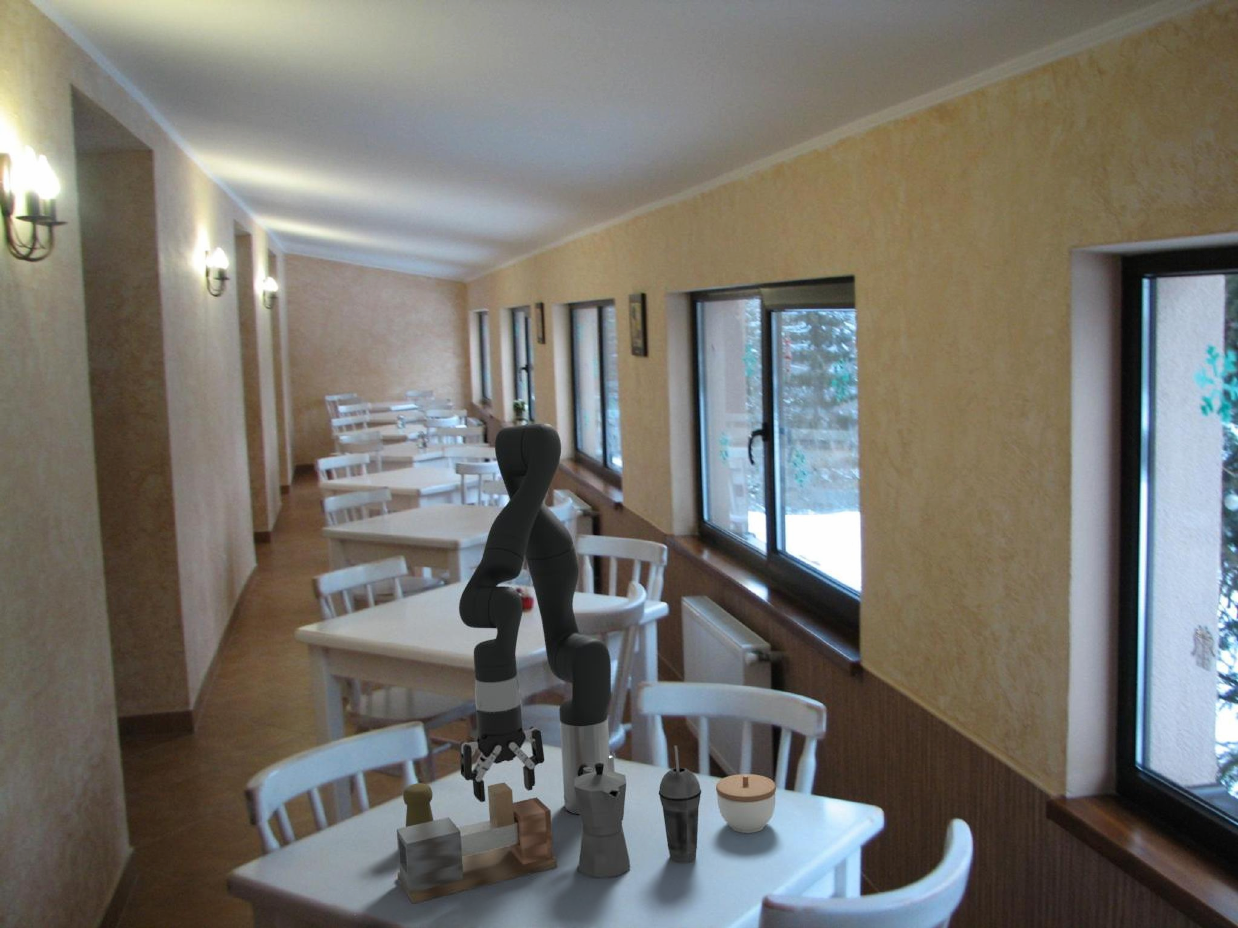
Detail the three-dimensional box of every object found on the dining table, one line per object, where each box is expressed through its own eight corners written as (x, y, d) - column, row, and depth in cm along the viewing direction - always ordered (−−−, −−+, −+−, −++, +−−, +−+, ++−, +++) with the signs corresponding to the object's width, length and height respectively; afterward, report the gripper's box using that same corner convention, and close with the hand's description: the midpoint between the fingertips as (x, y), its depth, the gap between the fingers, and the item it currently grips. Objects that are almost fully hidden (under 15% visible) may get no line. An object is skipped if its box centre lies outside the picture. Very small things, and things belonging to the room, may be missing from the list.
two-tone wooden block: (533, 829, 194) (529, 776, 193) (541, 838, 190) (538, 784, 189) (440, 851, 187) (436, 796, 186) (447, 860, 183) (443, 804, 182)
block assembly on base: (536, 844, 198) (533, 793, 197) (557, 866, 189) (554, 813, 188) (397, 878, 187) (394, 825, 186) (413, 903, 178) (409, 847, 177)
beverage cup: (708, 849, 192) (704, 737, 190) (698, 868, 185) (692, 752, 183) (668, 845, 194) (663, 735, 193) (656, 864, 188) (650, 749, 186)
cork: (431, 852, 197) (426, 792, 196) (399, 851, 198) (394, 791, 197) (443, 837, 202) (439, 779, 201) (411, 836, 204) (407, 778, 203)
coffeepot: (646, 875, 184) (641, 770, 182) (594, 888, 180) (588, 781, 178) (608, 840, 198) (603, 742, 196) (559, 852, 194) (553, 752, 192)
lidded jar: (750, 808, 208) (748, 760, 208) (789, 827, 200) (787, 776, 199) (705, 824, 203) (703, 774, 202) (744, 844, 194) (742, 792, 193)
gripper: (529, 688, 194) (535, 778, 195) (450, 704, 188) (458, 796, 189) (545, 700, 187) (552, 792, 189) (464, 716, 181) (472, 812, 183)
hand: (505, 794), depth 189 cm, fingers open, 8 cm apart
